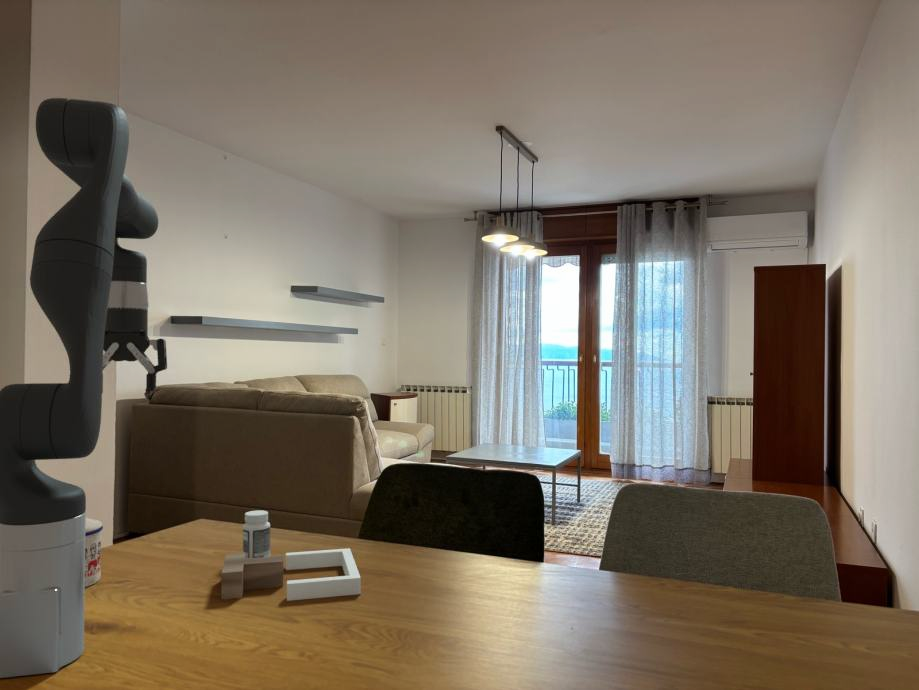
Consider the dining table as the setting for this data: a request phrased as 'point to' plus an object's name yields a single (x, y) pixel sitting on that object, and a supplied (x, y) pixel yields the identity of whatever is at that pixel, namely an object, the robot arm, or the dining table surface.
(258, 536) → the pill bottle
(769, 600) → the dining table surface
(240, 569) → the t block
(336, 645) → the dining table surface
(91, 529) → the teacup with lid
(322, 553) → the pocket
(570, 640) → the dining table surface
